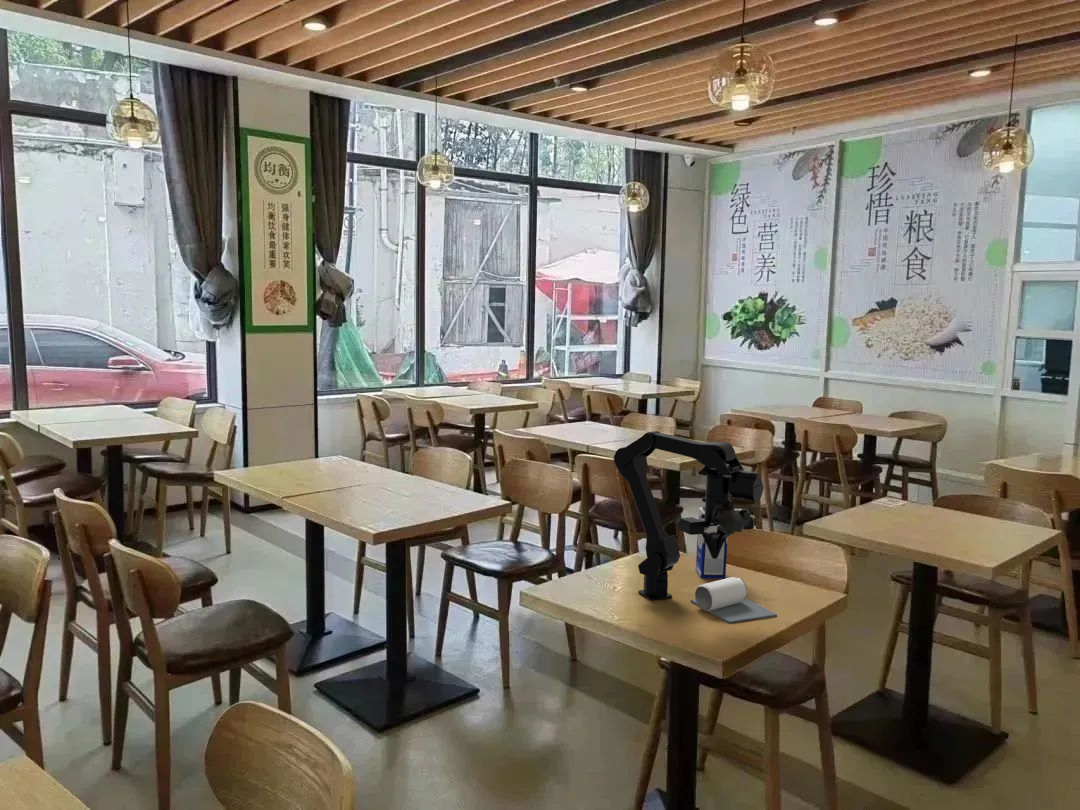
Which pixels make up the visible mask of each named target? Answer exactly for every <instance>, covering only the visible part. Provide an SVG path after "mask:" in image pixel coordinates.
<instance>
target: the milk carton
mask: <svg viewBox="0 0 1080 810" xmlns="http://www.w3.org/2000/svg"><path fill="white" fill-rule="evenodd" d="M701 514H705V504H703V505H702V506H701V507H698V515H697V517H698V518H697V519H698V520H701V521H704V519H703V518H701ZM711 524H713V523H711ZM728 537H729V536H728ZM728 537H727V538H726V540H725V542H724V543H723V546H722V548H721V550H720V553H719V555H718V557H717V559H713V558H712V557H711V554H710V552H709V549H708V547H707V544H706V542H705V539H704V538H703V536H702V534H697V539H696V556H695V558H696V559H695V572H696V573H697V574H698V576H699V577H700V579H720V578H725V579H726V578H727V577H726V572H727V556H728V555H727V553H728Z"/></svg>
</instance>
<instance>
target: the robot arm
mask: <svg viewBox="0 0 1080 810" xmlns="http://www.w3.org/2000/svg"><path fill="white" fill-rule="evenodd" d="M655 450H660V451H664V452H667V453H671V454H675V455H680V456H683V457H688V458H692V459H694V460H695V461H697V462H698V463H700V464H702V465H704V467H702V468H701V469H700V470H699V471H698V472H697V474H698V475H700V476H706V477H705V478H706V481H705V496H703V497H702V498H701V502H702V503H704V505H705V514H701V518H703V519H704V521H701V520H698V518H695V517H693V516H691V517H690V516H689V517H680V519H679V520H678V521H677V530H678V531H680V532H683V533H685V534H687V535H689V536H690V535H691V536H692V535H693V536H694V535H698V534H702V536H703V538H704V539H705V542H706V544H707V547H708V549H709V552H710V554H711V557H712V558H713V559H717V557H718V555H719V553H720V550H721V548H722V546H723V543H724V542H725V540H726V538H727V537H730V536H731V535H734V534H735V533H742V532H743V530H746V531H747V530H754V528H755V520H754V518H753V516H751V512H750V511H749V510H748V509H740V510H738V509H735V508H734V506H735V504H734V500H731V499H730V497H731V496H732V497H733V498H734V499H739V500H744V501H749V502H757V503H758V502H759V501H760V500H761V499H762V496H763V493H764V485H763V480H762V478H761V473H760V472H759V471H747V470H745V468H744V467H743V466H742V464H741V462H740V460H739V459H738V457H737V455H736V451H735V449H734V447H733V445H732V444H731V443H729V442H725V441H697V440H694V439H689V438H684V437H681V436H677V435H672V434H669V433H664V432H660V431H658V430H653V431H647V432H645V433H644V434H643V435H642V436H641V437H639V438H638V439H636V440H634V441H633V442H631V443H629V444H628V445H626V446H624V447H623V446H622V447H620V448H618V449H617V450H616V451H615V453H614V455H613V462H614V465H615V467H616V468H617V471H618V473H619V474H620V476H621V477H623V479H625V481H626V482H627V483H628V485H629V488H630V491H631V494H632V497H633V500H634V503H635V506H636V509H637V511H638V515H639V518H640V521H641V524H642V527H643V529H644V533H645V535H646V542H645V554H646V558H645V559H644V560H643V561H641V562H640V563H639V564H638V566H637V567H638V572H639V574H640V575H643V589H639V590H638V591H637V592H638V593H639V594H640V595H642V596H644V598H647V599H648V600H650V601H656V600H662V599H670V598H673V594H671V593H669V592H668V587H669V585H668V584H669V582H668V581H669V580H668V579H669V578H668V576H669V574H668V572H669V571H673V569H674V565H676V564H677V563H678V562H679V560H680V558H681V553H680V551H681V546H679V543H678V540H677V536H676V535H675V534H673V535H670V534H669V533H667V530H666V529H665V526H664V525H663V521H662V518H661V515H660V512H659V509H658V506H657V504H656V500H655V498H654V495H653V491H652V489H651V486H650V483H649V481H648V478H647V476H648V460H647V458H648V457H649V456H651V455H652V454H653V453H654V452H655ZM711 523H713V524H711Z"/></svg>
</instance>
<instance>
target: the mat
mask: <svg viewBox="0 0 1080 810" xmlns="http://www.w3.org/2000/svg"><path fill="white" fill-rule="evenodd" d="M689 601H691V602H690V603H691V604H694V605H695V606H697V607H699V606H698V604H697V602H696V598H693V599H692V598H691V599H690V600H689ZM707 612H708V613H710V614H712V615H713V616H715V617H716V618H719V619H720V620H722V621H723V622H725V621H726V623H727V624H734V623H733V622H736V623H741V621H742V622H747V621H746V620H749V621H754V619H756V620H761V619H769V618H774V617H775V618H776V617H777V616H778V614H777V613H776V612H773V611H771V610H770V609H767V608H765V607H763V606H761V605H759V604H758V603H756V602H754V601H752V600H750V599H748V598H747V597H746V598H745V599H744V600H742V601H741V602H739V603H737V604H733V605H729V606H726V607H722V608H719V609H715V610H711V611H707ZM768 617H769V618H768Z"/></svg>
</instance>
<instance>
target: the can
mask: <svg viewBox="0 0 1080 810" xmlns="http://www.w3.org/2000/svg"><path fill="white" fill-rule="evenodd" d="M747 588H748V587H747V584H746V583H745V581H744V580H743V579H741V577H733V576H732V577H725V579H719V580H715V581H711V582H707V583H704V584H703V583H702V584H700V585H698V586H697V587H696V590H695V592H694V593H695V595H694V596H695V598H694V599H696V602H697V604H698V606H697V607H699V608H700V609H701V610H703V611H705V612H708V611H711V610H715V609H719V608H722V607H726V606H729V605H733V604H737V603H739V602H741V601H742V600H744V599H745V598H746V599H747V595H748V589H747Z"/></svg>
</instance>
